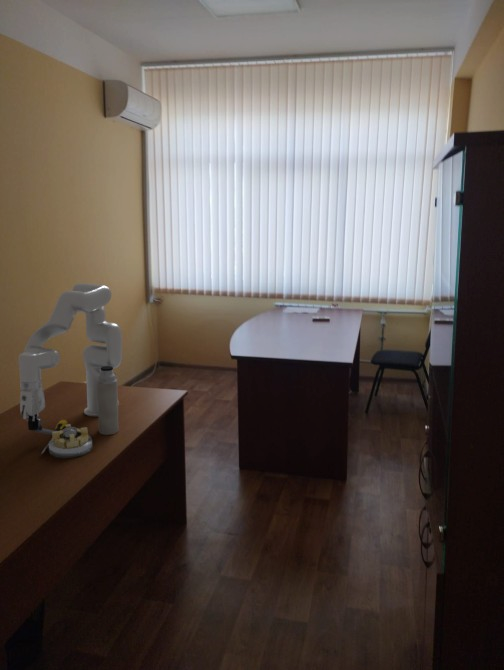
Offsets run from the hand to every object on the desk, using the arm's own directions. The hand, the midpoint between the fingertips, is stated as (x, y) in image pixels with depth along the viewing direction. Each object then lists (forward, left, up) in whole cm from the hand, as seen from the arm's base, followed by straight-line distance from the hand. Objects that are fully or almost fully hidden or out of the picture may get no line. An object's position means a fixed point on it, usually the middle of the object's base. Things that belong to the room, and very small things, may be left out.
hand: (33, 429), depth 209 cm
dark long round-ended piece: (-8, +6, -4) cm, 11 cm away
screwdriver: (-8, 0, -7) cm, 10 cm away
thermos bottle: (-30, +2, -7) cm, 31 cm away
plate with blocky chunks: (-11, +9, -7) cm, 16 cm away
